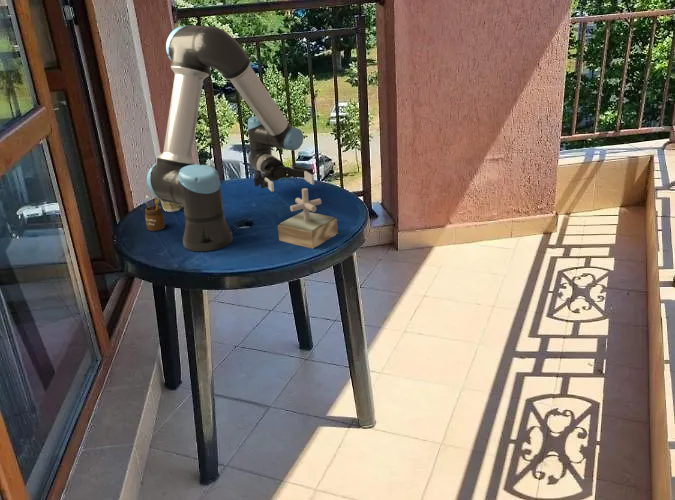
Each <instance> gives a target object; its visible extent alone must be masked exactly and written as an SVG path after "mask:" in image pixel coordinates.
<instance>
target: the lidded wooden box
mask: <svg viewBox="0 0 675 500" xmlns="http://www.w3.org/2000/svg"><path fill="white" fill-rule="evenodd" d="M309 213H310V221H304V213H303V211H301V212H299V213H297V214H295V215H293V216H292V217H289V218H287V219H285V220H284V221H282V222H280V223H279V224H278V225H277V233H278V240H279V241H280V242H284V243H287V244H292V245H296V246H300V247H304V248H309V249H312V250H313V249H314V248H316V247H318V246H320V245H322V244H323V243H325V242H326V240H327V241H329V240H330V239H332V238H333V237H335V236H337V235H338V234H339V232H338V218H335V216H331V215H325V214H321V213H317V212H316V213H315V212H312V211H309ZM336 234H337V235H336ZM331 237H332V238H331ZM329 238H330V239H329Z"/></svg>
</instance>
